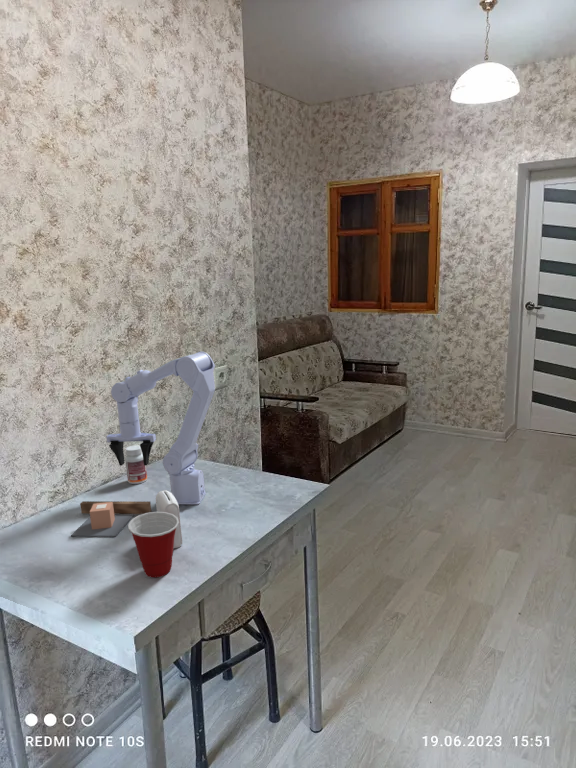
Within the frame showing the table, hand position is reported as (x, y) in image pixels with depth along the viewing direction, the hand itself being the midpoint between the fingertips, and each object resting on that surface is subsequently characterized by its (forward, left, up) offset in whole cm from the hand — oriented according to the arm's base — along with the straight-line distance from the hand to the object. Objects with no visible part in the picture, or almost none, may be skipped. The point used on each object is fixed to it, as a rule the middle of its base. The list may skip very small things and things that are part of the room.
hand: (134, 464), depth 162 cm
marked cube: (+1, +21, -9) cm, 23 cm away
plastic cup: (-22, +42, -10) cm, 48 cm away
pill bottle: (+4, -10, -10) cm, 14 cm away
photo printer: (-20, +28, -10) cm, 36 cm away
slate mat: (+1, +21, -9) cm, 23 cm away
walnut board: (+1, +13, -9) cm, 16 cm away
